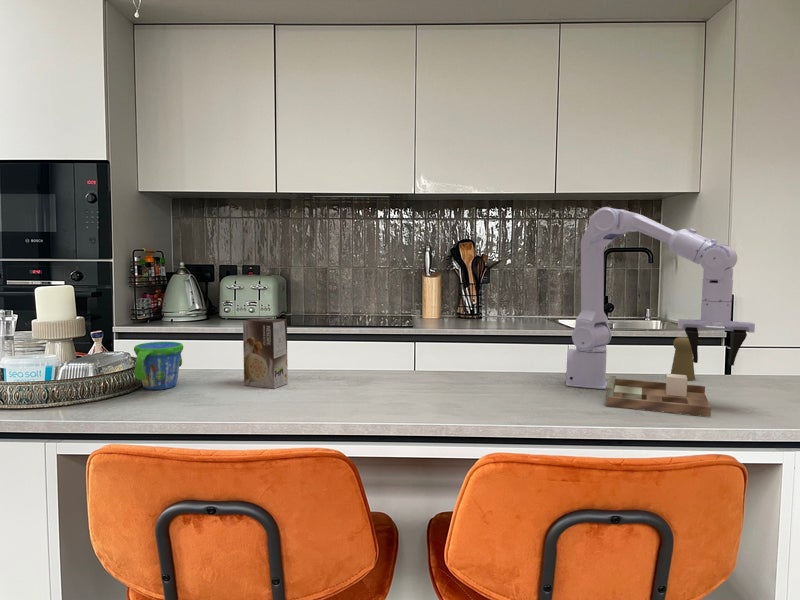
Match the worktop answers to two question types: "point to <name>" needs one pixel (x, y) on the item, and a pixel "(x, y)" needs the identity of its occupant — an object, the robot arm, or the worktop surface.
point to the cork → (683, 358)
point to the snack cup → (158, 364)
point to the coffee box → (265, 352)
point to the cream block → (676, 385)
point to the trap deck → (656, 397)
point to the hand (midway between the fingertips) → (713, 363)
